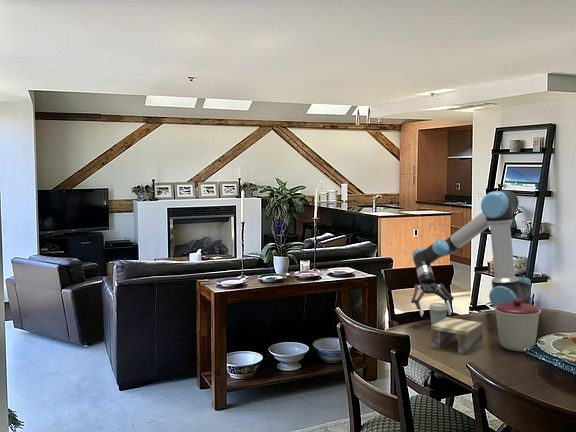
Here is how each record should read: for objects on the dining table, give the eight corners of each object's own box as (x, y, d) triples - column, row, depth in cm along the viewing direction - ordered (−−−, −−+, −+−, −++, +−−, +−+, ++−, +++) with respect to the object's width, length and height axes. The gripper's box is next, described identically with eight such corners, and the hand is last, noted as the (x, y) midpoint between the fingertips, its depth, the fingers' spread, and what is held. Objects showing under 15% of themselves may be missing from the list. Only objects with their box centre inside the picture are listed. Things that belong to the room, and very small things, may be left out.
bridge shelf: (482, 344, 237) (482, 322, 236) (467, 354, 225) (467, 331, 224) (447, 338, 247) (447, 317, 246) (431, 347, 235) (430, 325, 234)
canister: (550, 352, 224) (550, 301, 222) (509, 356, 221) (509, 304, 219) (524, 339, 242) (524, 292, 240) (485, 343, 239) (485, 295, 237)
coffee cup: (448, 332, 255) (448, 307, 254) (429, 332, 257) (429, 306, 256) (447, 327, 264) (446, 302, 263) (428, 326, 266) (428, 302, 265)
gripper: (448, 279, 278) (460, 316, 265) (399, 282, 277) (408, 319, 263) (452, 271, 272) (464, 308, 259) (402, 273, 271) (412, 311, 257)
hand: (436, 314), depth 261 cm, fingers open, 13 cm apart
